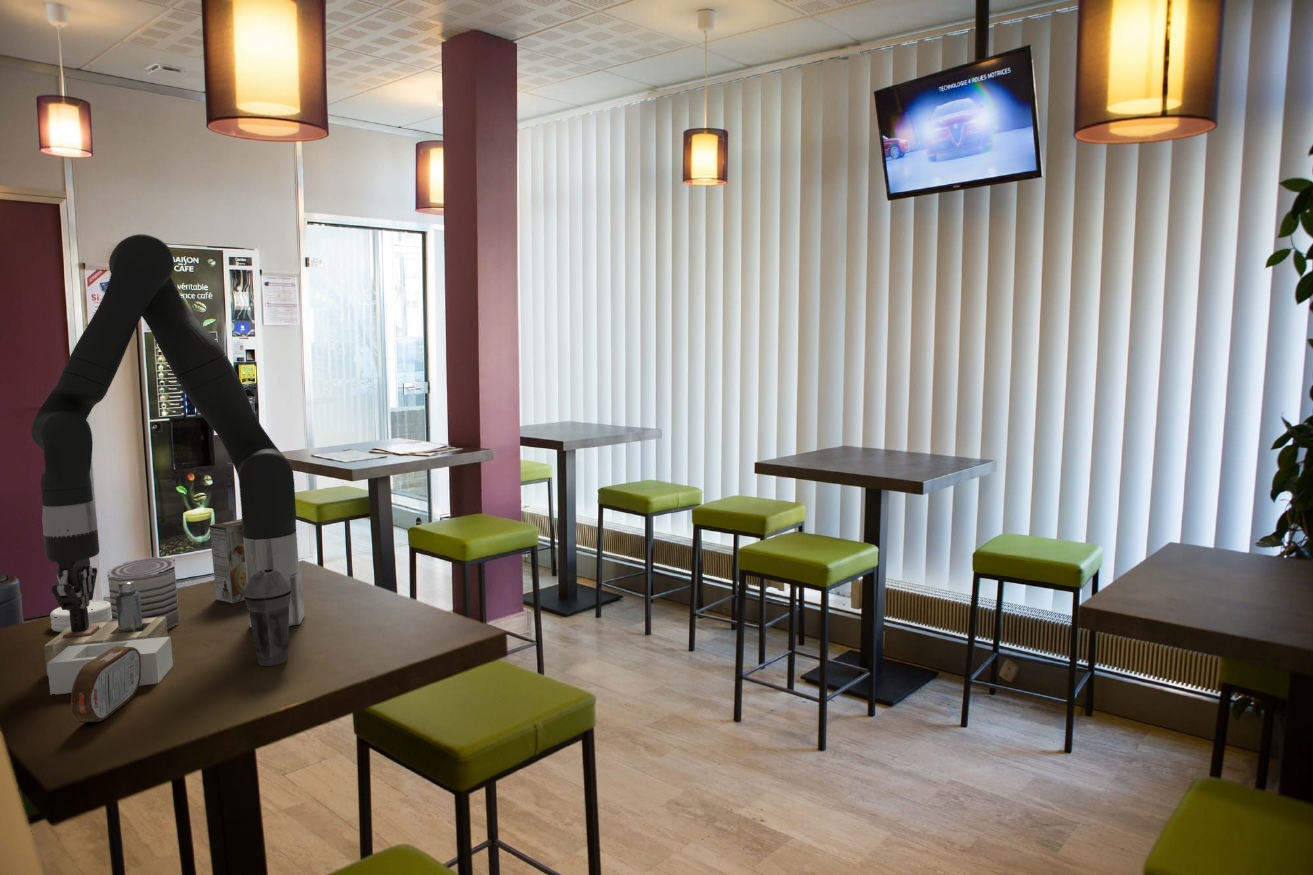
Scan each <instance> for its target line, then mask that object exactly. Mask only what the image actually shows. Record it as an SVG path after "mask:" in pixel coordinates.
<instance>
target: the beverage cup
mask: <svg viewBox="0 0 1313 875" xmlns="http://www.w3.org/2000/svg"><path fill="white" fill-rule="evenodd" d="M257 548H258V554H259V560H260V566H261V571H259V572H257V573H256V574H254V575H253V576H252V577H251V578H250V579H249V581H248V583H247V585H246V588H245V595H244V599H246V600H245V604H246V608H247V610H248V615H249V614H250V619H249V621H250V620H251V626H252V628H251V632H252V636H253V642H254V648H255V654H256V656H257V661H258V663H257V664H258V665H259V666H263V667H269V666H270V667H272V666H278V665H281V664H283V663H285V662H287V661H288V656H289V637H290V636H289V635H290V634H289V627H290V626H289V604H290V599H291V592H292V591H291V588H290V585H289V582H288V580H287V578H286V577H285V576H284V575H283V574H282V573H280V572H279V571H276V570H273V569H266V570H265V568H264V563H263V557H262V551H261V545H258V546H257ZM251 626H250V627H251Z"/></svg>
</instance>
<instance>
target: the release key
mask: <svg viewBox="0 0 1313 875" xmlns="http://www.w3.org/2000/svg"><path fill="white" fill-rule="evenodd" d="M98 630H99V625H97V626H89V627H88V628H87V629H86V630H85V631H79V632H72V631H71V629H70V630H69V631H68V632H66V633H65V634H64V635H63V638H74V637H85V636H92V635H93V634H94V633H96V632H97V631H98Z"/></svg>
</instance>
